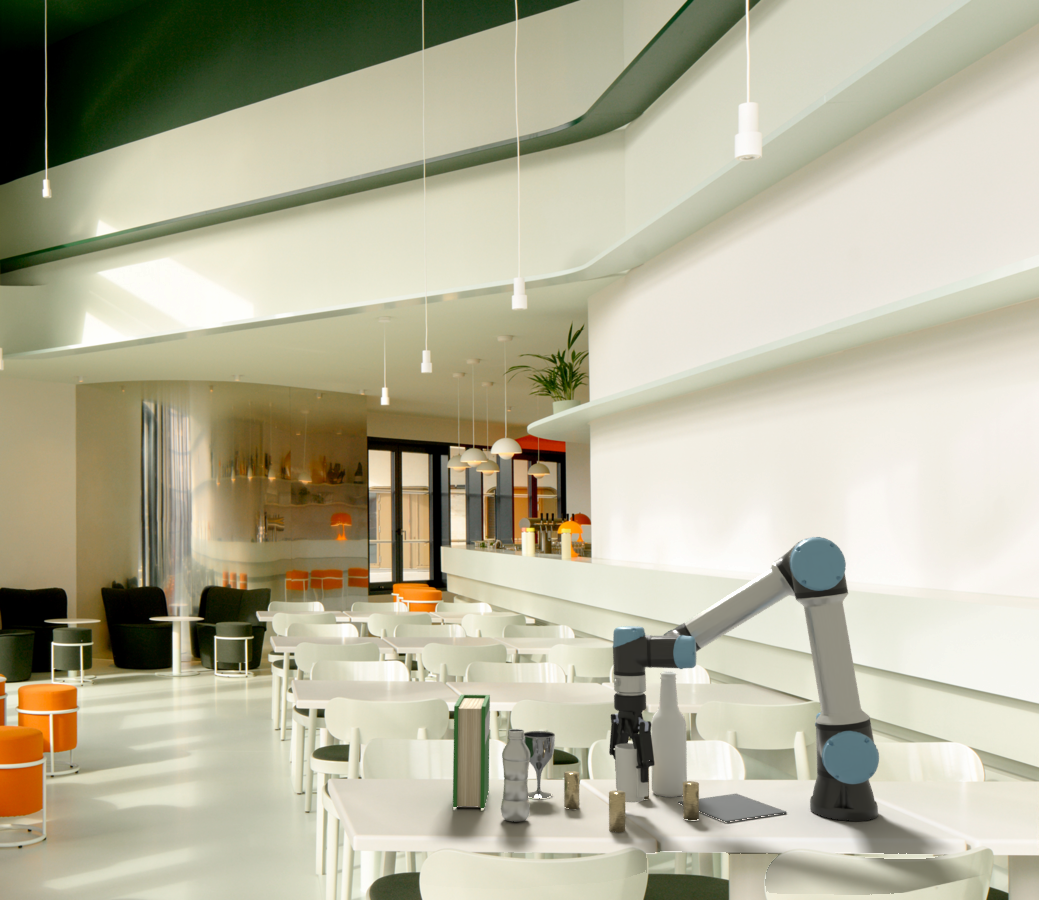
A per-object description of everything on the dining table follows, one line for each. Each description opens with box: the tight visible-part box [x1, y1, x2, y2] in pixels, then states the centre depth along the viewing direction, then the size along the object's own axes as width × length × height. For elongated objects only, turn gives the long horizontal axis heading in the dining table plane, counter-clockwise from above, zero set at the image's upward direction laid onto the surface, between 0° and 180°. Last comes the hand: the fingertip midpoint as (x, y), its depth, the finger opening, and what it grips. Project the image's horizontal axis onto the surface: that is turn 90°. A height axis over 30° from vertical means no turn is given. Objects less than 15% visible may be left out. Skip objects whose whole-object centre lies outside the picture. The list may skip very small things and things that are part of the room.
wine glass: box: [523, 730, 556, 799], centre depth 237 cm, size 8×8×15 cm
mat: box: [677, 793, 788, 822], centre depth 226 cm, size 18×18×1 cm
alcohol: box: [650, 671, 688, 798], centre depth 241 cm, size 9×9×30 cm
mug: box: [614, 742, 645, 803], centre depth 223 cm, size 10×7×12 cm, turn 171°
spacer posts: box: [563, 767, 700, 834], centre depth 222 cm, size 24×24×8 cm
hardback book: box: [452, 694, 491, 808], centre depth 233 cm, size 18×7×24 cm, turn 178°
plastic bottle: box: [500, 728, 531, 823], centre depth 216 cm, size 6×7×20 cm
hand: (631, 792), depth 222 cm, fingers closed on mug, 8 cm apart
